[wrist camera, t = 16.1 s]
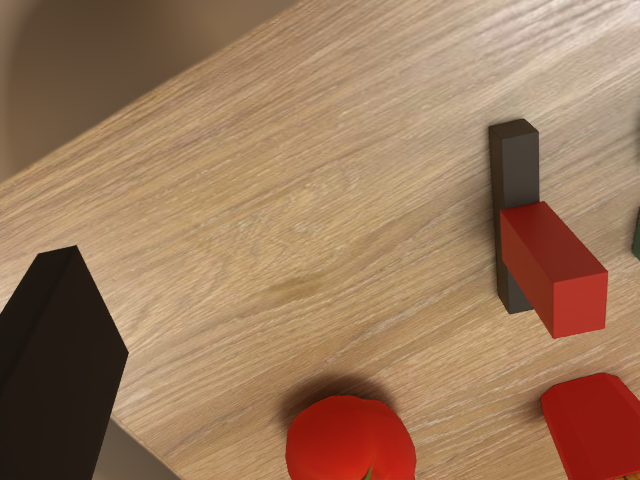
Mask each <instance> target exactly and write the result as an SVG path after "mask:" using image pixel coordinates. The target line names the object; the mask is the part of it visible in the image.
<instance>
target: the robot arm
mask: <svg viewBox="0 0 640 480" xmlns="http://www.w3.org/2000/svg"><path fill="white" fill-rule="evenodd" d="M128 354H129V352H128V350H127V348H126V346H125V344H124V342H123V340H122V338H121V336H120V334H119V332H118V329H117V327H116V325H115V323H114V321H113V319H112V317H111V315H110V313H109V311H108V309H107V307H106V305H105V303H104V301H103V299H102V297H101V294H100V292H99V290H98V288H97V286H96V284H95V282H94V280H93V278H92V276H91V274H90V272H89V270H88V268H87V266H86V264H85V262H84V259H83V257H82V255H81V253H80V251H79V249H78V247H77V245H75V246H70V247H66V248H61V249H57V250H52V251H48V252H43V253H39V254H37V256H36V258H35V259H34V261H33V262H32V264H31V266H30V267H29V269H28V270H27V272H26V274H25V275H24V277H23V279H22V280H21V282H20V283H19V285H18V287H17V288H16V290H15V291H14V293H13V295H12V296H11V298H10V299H9V301H8V303H7V304H6V306H5V307H4V309H3V311H2V312H1V314H0V480H92V477H93V473H94V470H95V466H96V463H97V460H98V456H99V453H100V449H101V446H102V442H103V439H104V436H105V432H106V429H107V425H108V422H109V419H110V415H111V412H112V408H113V405H114V402H115V398H116V395H117V391H118V388H119V385H120V381H121V378H122V374H123V371H124V368H125V364H126V361H127V357H128Z"/></svg>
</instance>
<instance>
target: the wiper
mask: <svg viewBox="0 0 640 480" xmlns="http://www.w3.org/2000/svg"><path fill="white" fill-rule="evenodd" d="M489 137H490V155H491V173H492V191H493V208H494V226H495V244H496V262H497V280H498V296H499V298H500V300H501V301H502V303H503V305H504V306H505V308H506V310H507V312H508V313H509V314H514V313H519V312H524V311H528V310H533V309H534V310H535V311H536V313H537V314H538V316H539V317H540V319H541V320H542V322H543V324H544V325H545V327H546V328H547V330H548V331H549V333H550V334H551V336H552V338H553V339H556V338H560V337H565V336H570V335H575V334H580V333H585V332H590V331H595V330H600V329H604V328H605V318H606V301H607V284H608V271H607V270H606V269H605V268H604V267H603V265H602V264H601V263H600V262H599V261H598V260H597V259H596V258H595V257H594V255H593V254H592V253H591V252H590V251H589V250H588V249H587V248H586V247H585V246H584V244H583V243H582V242H581V241H580V240H579V239H578V238H577V237H576V236H575V234H574V233H573V232H572V231H571V230H570V229H569V228H568V227H567V226H566V224H565V223H564V222H563V221H562V220H561V219H560V218H559V217H558V216H557V215H556V213H555V212H554V211H553V210H552V209H551V208H550V207H549V206H548V205H547V203H546V202H545V201H542V202H539V132H538V130H537V129H535V128H534V127H533V126H532V125H531V124H530V123H529V122H527V121H526V120H525V119H522V120H517V121H512V122H508V123H503V124H499V125H494V126H490V127H489Z"/></svg>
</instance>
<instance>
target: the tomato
mask: <svg viewBox="0 0 640 480" xmlns="http://www.w3.org/2000/svg"><path fill="white" fill-rule="evenodd" d="M285 458H286V463H287V468H288V473H289V475H290V477H291V479H292V480H415V476H414V473H415V467H416V454H415V447H414V444H413V442H412V440H411V437H410V435H409V433H408V431H407V429H406V427H405V426H404V424H403V422H402V421H401V419H400V418H399V417H398V416H397V414H396V413H395V412H394V411H393V410H392V409H391V408H389V407H388V406H387V405H386V404H385V403H384V402H381V401H379V400H364V399H361V398H358V397H355V396H352V395H341V396H330V397H328V398H325V399H323V400H321V401H318V402H316V403H314V404H313V405H311V406H310V407H308V408H307V409H305V410H303V411H302V412H300V413H299V415H298V416H297V417H296V418H295V419H294V420H293V422H292V423H291V426H290V428H289V430H288V433H287V444H286V454H285Z"/></svg>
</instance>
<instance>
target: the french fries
mask: <svg viewBox="0 0 640 480" xmlns="http://www.w3.org/2000/svg"><path fill="white" fill-rule="evenodd" d="M541 404H542V412H543V415H544V418H545V420H546V423H547V425H548V428H549V431H550V433H551V436H552V438H553V441H554V443H555V446H556V449H557V451H558V454H559V456H560V459H561V461H562V464H563V467H564V469H565V472H566V474H567V477H568V479H569V480H640V401H639V400H638V399H637V398H636V396H635V395H634V394H633V393H632V392H631V391H630V390H629V389H628V388H627V386H626V385H625V384H624V383H623V382H622V381H621V380H620V379H619V378H618V377H616V376H613V375H610V374H606V373H600V374H595V375H591V376H587V377H583V378H579V379H575V380H572V381H568V382H565V383H561V384H558V385H555V386H553V387H552V388H551V389H549V390H548V391H547V392H546V393H545V394H544V395H543V396H542V397H541Z"/></svg>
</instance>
